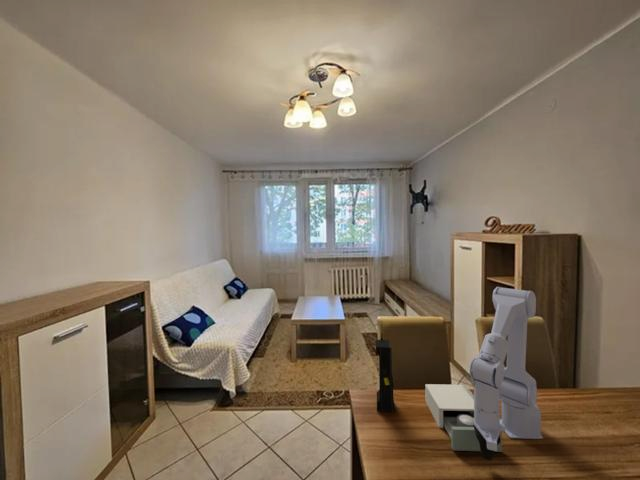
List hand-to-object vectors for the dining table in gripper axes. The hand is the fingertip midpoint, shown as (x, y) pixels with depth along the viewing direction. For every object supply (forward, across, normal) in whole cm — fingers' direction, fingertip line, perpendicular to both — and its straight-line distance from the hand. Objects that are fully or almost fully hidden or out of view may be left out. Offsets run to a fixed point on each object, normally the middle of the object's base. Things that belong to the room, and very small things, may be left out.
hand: (486, 457), depth 73 cm
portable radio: (+3, +17, +28) cm, 33 cm away
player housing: (+3, +20, +6) cm, 22 cm away
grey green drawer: (+2, +11, +4) cm, 12 cm away
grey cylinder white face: (+2, +10, +3) cm, 11 cm away
